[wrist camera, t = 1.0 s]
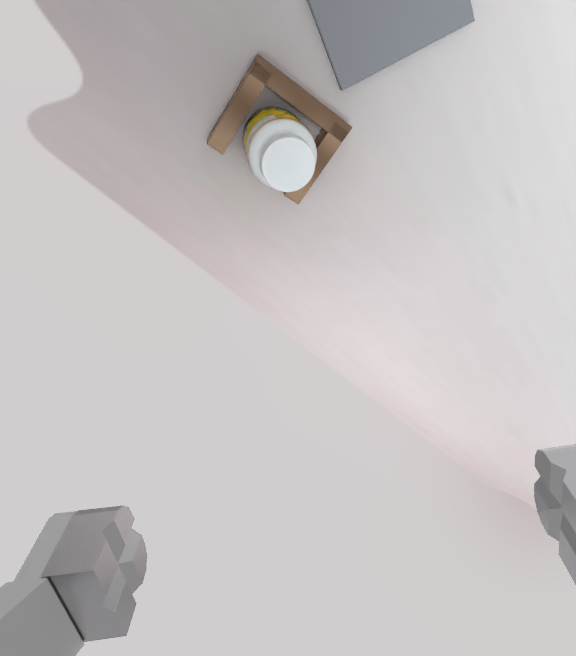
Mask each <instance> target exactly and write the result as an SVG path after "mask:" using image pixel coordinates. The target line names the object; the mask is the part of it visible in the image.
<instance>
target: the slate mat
mask: <svg viewBox="0 0 576 656" xmlns="http://www.w3.org/2000/svg"><path fill="white" fill-rule="evenodd" d="M308 3H309V6H310V9H311V11H312V14H313V17H314V19H315V22H316V25H317V27H318V30H319V33H320V35H321V38H322V41H323V43H324V46H325V49H326V51H327V54H328V57H329V59H330V62H331V65H332V67H333V70H334V73H335V75H336V78H337V81H338V84H339V86H340V89H341V90H344V89H346V88H348V87H350V86H352V85H354V84H355V83H357V82H359V81H361V80H363V79H365V78H367V77H369V76H371V75H373V74H374V73H376V72H378V71H380V70H382V69H384V68H386V67H388V66H390V65H391V64H393V63H395V62H397V61H399V60H401V59H403V58H405V57H407V56H409V55H410V54H412V53H414V52H416V51H418V50H420V49H422V48H424V47H426V46H428V45H429V44H431V43H433V42H435V41H437V40H439V39H441V38H443V37H445V36H446V35H448V34H450V33H452V32H454V31H456V30H458V29H460V28H462V27H464V26H465V25H467V24H469V23H471V22H473V21H475V20H474V15H473V11H472V6H471V2H470V0H308Z"/></svg>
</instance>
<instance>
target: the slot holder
mask: <svg viewBox="0 0 576 656" xmlns="http://www.w3.org/2000/svg"><path fill="white" fill-rule="evenodd" d="M265 85H266V86H267V87H269V88H270V89H271V90H273V91H274V92H275V93H277V94H278V95H279V96H281V97H282V98H283V99H285V100H286V101H287V102H289V103H290V104H291V105H293V106H294V107H295V108H297V109H298V110H299V111H301V112H302V113H303V114H305V115H306V116H307V117H309V118H310V119H311V120H313V121H314V122H315V123H317V124H318V125H319V126H321V127H322V128H323V130H322V131H321V133H320V134H319V136H318V137H317V139H316V140H315V144H316V149H317V160H316V165H315V170H314V173H313V176H312V178H311V179H310V181H309V182H308V183H307V184H306V185H305V186H304V187H302V188H301V189H299V190H297V191H293V192H284V195H285V196H286V197H288V198H289V199H291V200H292V201H294V202H295V203H297V204H299V203H300V201H301V200H302V199H303V197H304V196H305V194H306V193H307V191H308V190H309V189H310V187H311V186H312V184H313V183H314V181H315V180H316V179H317V177H318V176H319V174H320V173H321V171H322V170H323V169H324V167H325V166H326V164H327V163H328V161H329V160H330V159H331V157H332V156H333V154H334V153H335V151H336V150H337V149H338V147H339V146H340V144H341V143H342V141H343V140H344V139H345V137H346V136H347V134H348V133H349V131H350V130H351V129H352V126H350V125H349V124H348V123H346V122H345V121H344V120H342V119H341V118H340V117H339V116H337V115H336V114H335V113H333V112H332V111H331V110H330V109H328V108H327V107H326V106H324V105H323V104H322V103H321V102H319V101H318V100H317V99H315V98H314V97H313V96H311V95H310V94H309V93H308V92H306V91H305V90H304V89H302V88H301V87H300V86H299V85H297V84H296V83H295V82H293V81H292V80H291V79H290V78H288V77H287V76H286V75H284V74H283V73H282V72H280V71H279V70H278V69H277V68H275V67H274V66H273V65H271V64H270V63H269V62H268V61H266V60H265V59H264V58H262V57H261V56H260V55H257V56H256V58H255V60H254V62H253V63H252V65H251V67H250V68H249V70H248V72H247V73H246V75H245V77H244V78H243V80H242V82H241V83H240V85H239V87H238V88H237V90H236V92H235V94H234V95H233V97H232V99H231V100H230V102H229V104H228V105H227V107H226V109H225V110H224V112H223V114H222V115H221V117H220V119H219V121H218V122H217V124H216V126H215V127H214V129H213V131H212V132H211V134H210V136H209V137H208V139H207V144H208V145H209V146H211V147H212V148H214V149H215V150H217V151H218V152H220V153H221V154H223V153H224V152H225V150H226V148H227V147H228V145H229V144H230V142H231V140H232V139H233V137H234V135H235V134H236V132H237V130H238V129H239V127H240V126H241V124H242V122H243V121H244V119H245V117H246V116H247V114H248V113H249V111H250V109H251V108H252V106H253V104H254V103H255V101H256V99H257V98H258V96H259V95H260V93H261V91H262V90H263V88H264V86H265Z"/></svg>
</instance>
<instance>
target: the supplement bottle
mask: <svg viewBox="0 0 576 656" xmlns="http://www.w3.org/2000/svg"><path fill="white" fill-rule="evenodd" d="M243 146H244V150H245V153H246V156H247V158H248V162H249V165H250V167H251V170H252V172H253V174H254V175H255V177H256V178H257V179H258V180H259V181H260V182H261V183H262V184H264V185H265V186H267V187H269V188H271V189H275V190H278V191H282V192H293V191H297V190H299V189H301V188H302V187H304V186H305V185H306V184H307V183H308V182H309V181H310V179H311V178H312V176H313V173H314V170H315V165H316V160H317V149H316V144H315V141H314V139H313V137H312V135H311V133H310V132H309V131H308V130H307V129H306V128H305V126H303V124H302V123H301V122H300V121H299V120H298V119H297V118H296V117H295V116H294V115H293V114H292V113H290V112H289V111H287V110H285V109H282V108H277V107H267V108H263V109H261V110H259V111H257V112H256V113H255V114H254V115H252V116H251V118H250V119H249V120H248V122H247V124H246V126H245V128H244V132H243Z"/></svg>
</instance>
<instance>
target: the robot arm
mask: <svg viewBox="0 0 576 656" xmlns="http://www.w3.org/2000/svg"><path fill="white" fill-rule="evenodd" d="M535 467H536V469H537V471H538V472H539V474H540V476H541V477H540V478H539V479H538V480H537V481H536V483H535V484H534V498H535V502H536V507H537V512H538V514H539V517H540V519H541V522H542V524H543V526H544V528H545V530H546V532H547V533H548V535H550V536H551V537H553V538H555V539H556V540H558V541H559V542H560V543H559V555H560V557H561V559H562V561H563V562H564V564H565V566H566V568H567V569H568V571H569V573H570V575H571V577H572V579H573V580H574V582H575V584H576V444H574V445H567V446H560V447H553V448H546V449H539V450H537V452H536V455H535ZM133 521H134V517H133V515H132V513H131V511H130V509H129V507H126V506H116V507H107V508H98V509H89V510H79V511H76V512H66V513H57V514H54V515H53V516H52V517H50V518H49V520H48V521H47V523H46V525H45V526H44V528H43V530H42V532H41V533H40V535H39V537H38V539H37V541H36V542H35V544H34V546H33V548H32V549H31V551H30V553H29V555H28V557H27V558H26V560H25V562H24V564H23V565H22V567H21V569H20V571H19V573H18V574H17V576H16V578H15V580H14V581H13V582H8V583H5V584H4V585H3V586H2V587H0V656H75V655H76V654H77V653H78V652H79V650H80V649H81V648H82V647H83V646H84V642H87V641H92V640H101V639H107V638H115V637H121V636H126V635H127V632H128V629H129V626H130V622H131V619H132V616H133V612H134V609H135V606H136V602H135V600H134V598H133V595H132V593H133V592H134V591H135V590H136V589H137V588H138V587H139V586H140V585H141V584H142V583H143V579H144V576H145V572H146V561H147V553H146V548H145V543H144V540H143V538H142V535H141V534H139V533H138V532H136V531H135V530H133V529H132V528H131V527H132V525H133Z"/></svg>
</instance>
